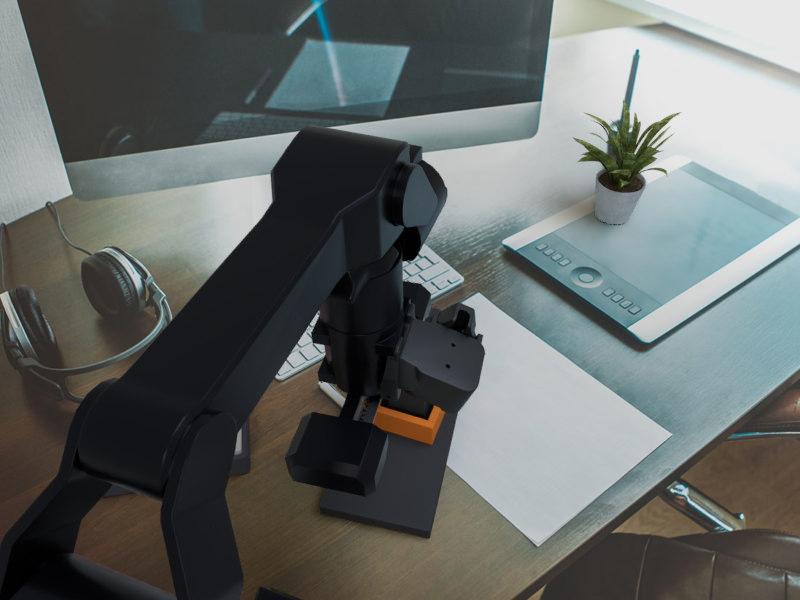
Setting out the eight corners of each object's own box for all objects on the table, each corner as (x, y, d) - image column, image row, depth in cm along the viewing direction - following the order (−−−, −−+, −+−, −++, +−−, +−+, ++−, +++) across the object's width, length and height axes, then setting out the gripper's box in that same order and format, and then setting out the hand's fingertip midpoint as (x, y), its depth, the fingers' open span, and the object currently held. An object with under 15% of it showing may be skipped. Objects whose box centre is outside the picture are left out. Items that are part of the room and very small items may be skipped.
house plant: (615, 174, 106) (638, 78, 94) (683, 216, 97) (719, 116, 86) (548, 203, 100) (565, 105, 89) (615, 250, 92) (643, 149, 80)
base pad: (429, 539, 62) (430, 516, 59) (320, 514, 64) (315, 490, 61) (463, 387, 75) (465, 361, 72) (371, 370, 77) (369, 344, 74)
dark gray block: (423, 427, 69) (425, 345, 60) (388, 417, 70) (384, 335, 61) (437, 392, 72) (440, 309, 63) (403, 382, 73) (402, 300, 64)
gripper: (453, 442, 36) (445, 565, 47) (498, 236, 49) (483, 369, 60) (265, 405, 38) (299, 531, 49) (356, 217, 51) (367, 349, 62)
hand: (372, 436), depth 55 cm, fingers open, 9 cm apart
